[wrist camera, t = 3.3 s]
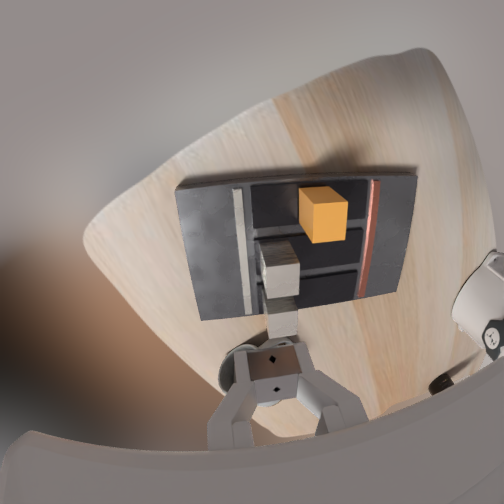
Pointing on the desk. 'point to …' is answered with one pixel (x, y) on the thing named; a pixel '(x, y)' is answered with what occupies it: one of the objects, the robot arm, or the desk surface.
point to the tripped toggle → (322, 214)
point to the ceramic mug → (228, 365)
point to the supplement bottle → (440, 384)
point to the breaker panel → (292, 244)
